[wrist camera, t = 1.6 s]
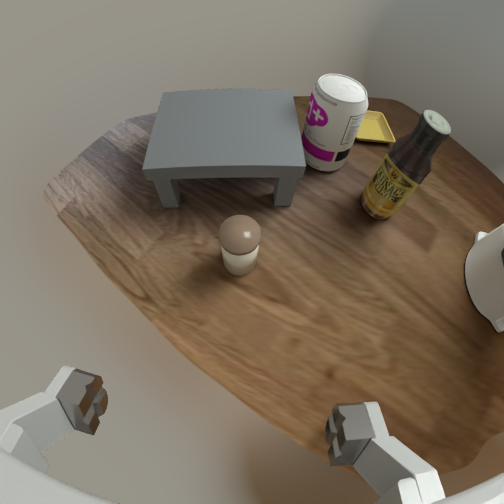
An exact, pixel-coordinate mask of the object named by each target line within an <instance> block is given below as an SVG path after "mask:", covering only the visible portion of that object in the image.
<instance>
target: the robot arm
mask: <svg viewBox="0 0 504 504" xmlns="http://www.w3.org/2000/svg"><path fill="white" fill-rule="evenodd" d="M465 278H466V284H467V288H468V291H469V294H470V297H471V299H472V301H473V303H474V305H475V306H476V308H477V309H478V310H479V312H480V313H481V314H482V315H483V316H485V317H486V318H487V319H489V320H490V321H491V323H492V325H493V326H494V328H495V330H496V331H497V332H502V331H504V224H502V225H501V226H499V227H498V228H496V229H495V230H493V231H492V232H490V233H489V234H488V233H484V232H479V233H477V234H476V236H475V241H474V245H473V247H472V248H471V250H470V251H469V253H468V255H467V258H466V263H465ZM102 384H103V381H102V378H101V376H98V375H94V374H91V373H88V372H85V371H82V370H79V369H76V368H73V367H70V366H67V365H65V366H63V367H62V368H61V369H60V371H59V372H58V373H57V375H56V376H55V378H54V379H53V380H52V382H51V383H50V385H49V386H48V388H47V389H46V390H45V392H44V393H42V392H40V393H38V394H35V395H33V396H31V397H29V398H27V399H25V400H22V401H20V402H18V403H16V404H13V405H11V406H9V407H7V408H5V409H2V410H0V504H119V503H116V502H113V501H110V500H107V499H104V498H101V497H99V496H96V495H93V494H91V493H88V492H85V491H83V490H80V489H78V488H76V487H73V486H71V485H69V484H67V483H64V482H62V481H60V480H58V479H56V478H54V477H52V476H50V475H48V474H46V471H47V470H48V467H49V462H48V461H47V459H46V458H45V457H44V456H43V455H42V453H43V452H44V451H46V450H47V449H48V448H50V447H51V446H53V445H54V444H56V443H57V442H59V441H60V440H62V439H63V438H64V437H66V436H67V435H69V434H70V433H72V432H73V431H74V429H75V430H79V431H81V432H84V433H87V434H91V435H94V434H95V432H96V430H97V427H98V425H99V423H100V421H99V418H98V417H99V416H101V415H103V414H104V413H105V411H106V409H107V404H108V395H107V392H106V390H105V389H103V387H102ZM332 414H333V415H332V416H330V417H329V418H328V420H327V423H326V428H325V437H326V442H327V443H328V444H329V445H330V448H329V450H328V457H329V464H330V466H346V465H353V467H354V468H355V470H356V471H357V472H358V473H359V474H360V475H361V476H362V478H363V479H364V480H365V481H366V482H367V483H368V484H369V485H370V487H371V488H372V489H373V490H374V491H375V492H376V493H377V494H378V495H379V496H380V499H379V500H378V501H376V502H375V503H374V504H504V472H503V473H501V474H499V475H497V476H495V477H493V478H491V479H489V480H487V481H485V482H483V483H481V484H479V485H476V486H474V487H472V488H470V489H467V490H465V491H462V492H460V493H458V494H455V495H453V496H450V497H447V498H446V497H445V494H444V491H443V488H442V485H441V482H440V479H439V476H438V474H437V471H436V469H434V468H433V467H432V466H430V465H429V464H428V463H427V462H425V461H424V460H423V459H421V458H420V457H419V456H418V455H416V454H415V453H414V452H412V451H411V450H410V449H409V448H407V447H406V446H405V445H404V444H402V443H401V442H400V441H399V440H397V439H396V438H395V437H394V436H389V433H388V430H387V427H386V424H385V422H384V419H383V416H382V413H381V410H380V407H379V404H378V403H377V402H363V403H362V402H358V403H339V404H335V405H334V406H333V408H332Z"/></svg>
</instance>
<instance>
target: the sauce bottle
mask: <svg viewBox="0 0 504 504" xmlns="http://www.w3.org/2000/svg"><path fill="white" fill-rule="evenodd" d="M450 133H451V128H450V125H449V124H448V123H447V121H446V120H445V119H444V118H443V117H442V116H441V115H440V114H438V113H437V112H434V111H431V110H425V111H424V112H423V113H422V114H421V116H420V117H419V122H418V124H417V125H416V127H415V128H414V130H413V131H412V132H411V134H409V135H406V136H404V137H400V138H399V139H398V140H397V141H396V142H395V144H394V145H393V147H392V148H391V149H390V151H389V152H388V153H387V154H386V156H385V157H384V159H383V160H382V162H381V164H380V165H379V167H378V168H377V170H376V172H375V173H374V175H373V176H372V178H371V179H370V181H369V182H368V184H367V185H366V187H365V188H364V191H363V193H362V196H361V202H362V205H363V208H364V210H365V211H366V212H367V213H368V214H369V215H371V216H372V217H374V218H376V219H381V220H382V219H386V218H389V217H391V216H392V215H393V214H394V213H395V212H396V211H397V210H398V209H399V208H400V207H401V206H402V204H403V203H404V202H405V201H406V200H407V199H408V198H409V197H410V195H411V194H412V193H413V192H414V191H415V190H416V189H417V187H418V186H419V185H420V184H421V183H422V181H423V179H424V178H425V177H426V176H427V175H428V174H429V173H430V172H431V168H432V155H433V154H434V153H435V152H436V149H437V148H438V147H439V145H440V144H441V143H442V141H444V140H446V139H447V137H448V136H449V134H450Z"/></svg>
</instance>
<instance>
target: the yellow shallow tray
mask: <svg viewBox="0 0 504 504" xmlns="http://www.w3.org/2000/svg"><path fill="white" fill-rule="evenodd" d="M356 139H357V140H359V141H369V142H379V143H393V142H395V138H394V136H393V134H392V132H391V129H390V127H389V125H388V123H387V121H386V119H385V117H384V115H383V113H381V112H375V111H368V110H366V113H365V115H364V118H363V120H362V123H361V125H360V128H359V130H358V133H357V135H356Z"/></svg>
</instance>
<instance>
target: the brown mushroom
mask: <svg viewBox="0 0 504 504" xmlns="http://www.w3.org/2000/svg"><path fill="white" fill-rule="evenodd" d="M260 239H261V230H260V227H259V225H258V223H257V222H256V221H255V220H254V219H252V218H251V217H249V216H246V215H234V216H231V217H229V218H227V219H226V220H225V221H224V222H223V223H222V224H221V226H220V228H219V241H220V244H221V249H222V255H223V262H224V266H225V268H226V269H227V270H228V271H229V272H230V273H231V274H233V275H237V276H243V275H247V274H249V273H250V272H252V271H253V270H254V268H255V266H256V263H257V256H258V248H259V243H260Z"/></svg>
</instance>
